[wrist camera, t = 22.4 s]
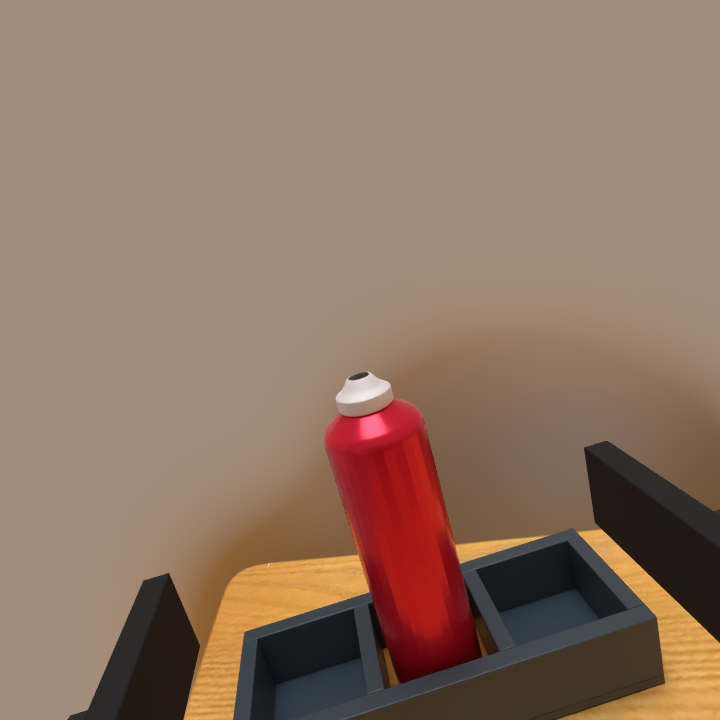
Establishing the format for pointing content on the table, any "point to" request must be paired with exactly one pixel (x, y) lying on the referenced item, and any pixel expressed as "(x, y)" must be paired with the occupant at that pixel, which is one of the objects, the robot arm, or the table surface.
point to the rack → (496, 638)
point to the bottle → (400, 528)
